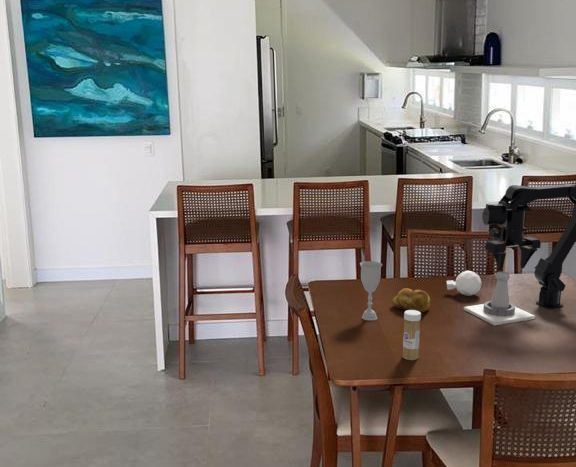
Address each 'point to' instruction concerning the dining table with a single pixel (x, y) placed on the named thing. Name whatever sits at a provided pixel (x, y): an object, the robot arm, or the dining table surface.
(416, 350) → the sprinkles bottle
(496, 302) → the salt shaker
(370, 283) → the chalice
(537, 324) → the dining table surface
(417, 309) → the bread roll
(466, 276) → the perfume bottle
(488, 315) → the ring holder
